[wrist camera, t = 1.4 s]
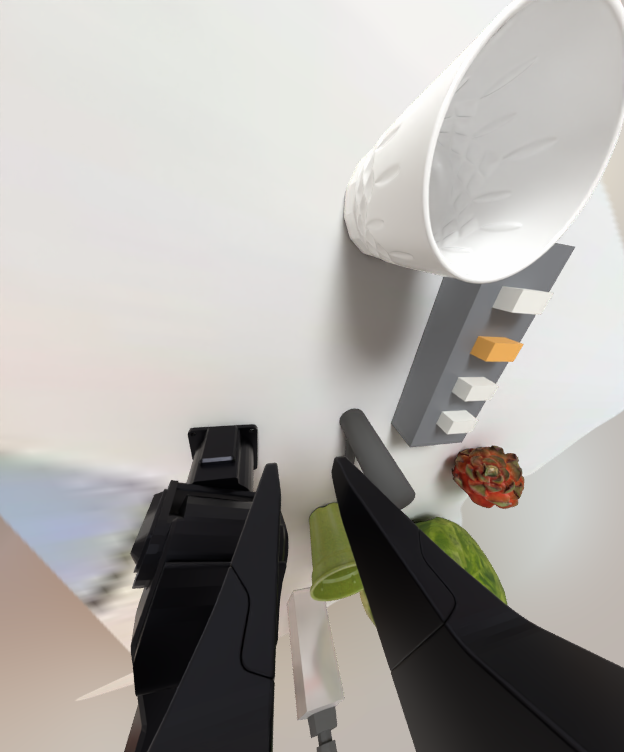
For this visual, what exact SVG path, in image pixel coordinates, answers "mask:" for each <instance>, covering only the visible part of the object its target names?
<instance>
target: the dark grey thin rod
mask: <svg viewBox="0 0 624 752" xmlns="http://www.w3.org/2000/svg"><path fill="white" fill-rule="evenodd" d="M345 457H346V458H348V459H349V460H350V461H351V462H352V463H353V464H354V459H355V454H354V452H353V450H352V448H351V446H350V444H349V442H348V440H346V451H345Z"/></svg>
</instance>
